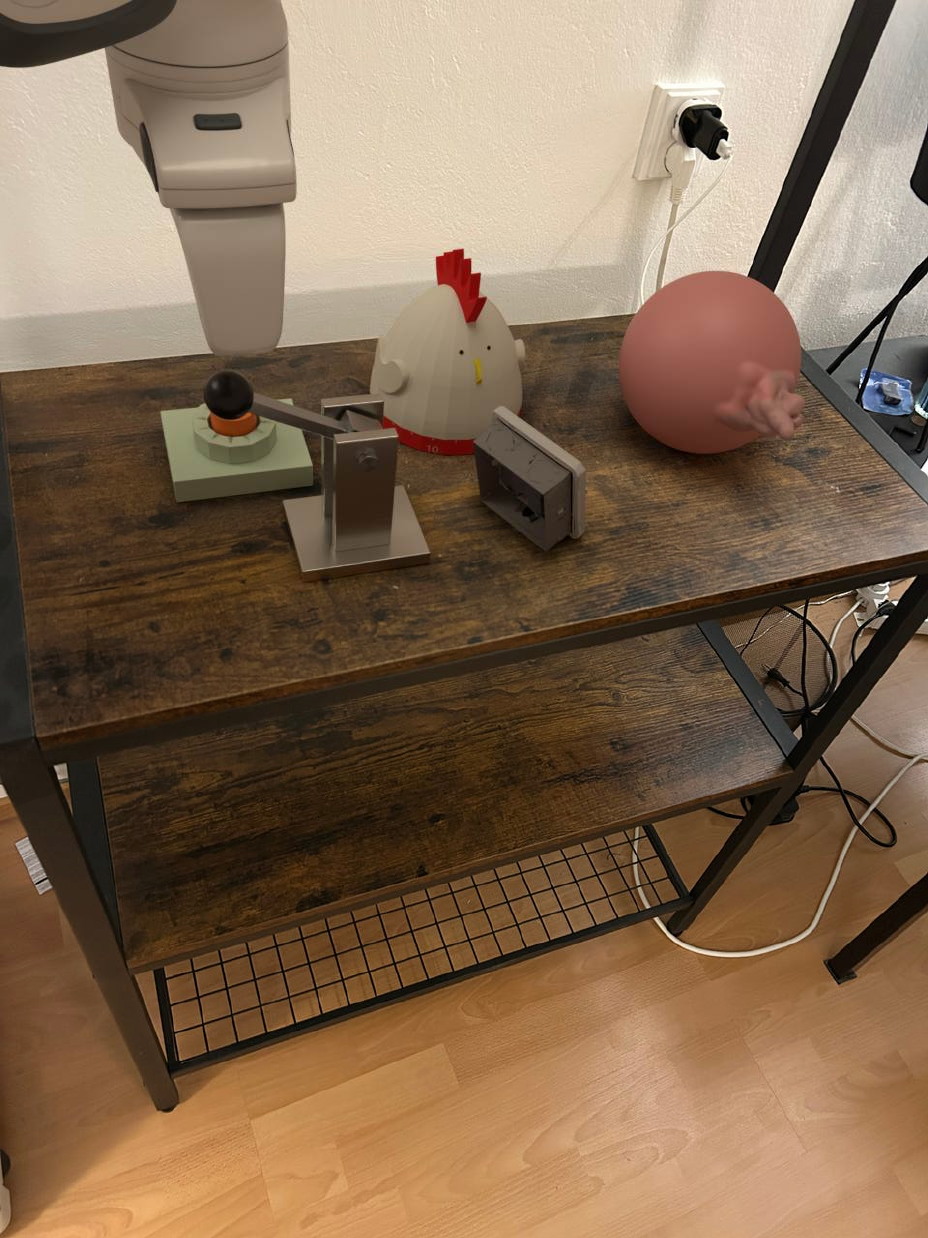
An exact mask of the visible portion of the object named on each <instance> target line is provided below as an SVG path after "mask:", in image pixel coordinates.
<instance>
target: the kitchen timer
mask: <svg viewBox="0 0 928 1238" xmlns="http://www.w3.org/2000/svg"><path fill="white" fill-rule="evenodd" d="M435 272H436V273H435V274H436V282H437V283H436V284H437V285H436V286H433V287H430V288H428V289H426V290H424V291H423V292H422V293H421V294H418V295H417V296H416V297H415V298H413V299H412V300H411V301H410V302H409V303H408V304H406V306H405V307H403V309H402V310H401V311H400V312H399V314H398V315H397V317H396V318H395V320H394V322H393V323H392V324H391V326H390V327H389V329H388V330H387V333H386V334H385V336H384V335H382V334H379V335H378V339H377V343H376V348H375V349H376V350H375V354H374V364H373V367H372V372H371V376H370V383H369V394H377V393H381V395H382V397H383V400H384V414H383V429H388V428H395V429H396V431H397V434H398V436H399V439H398V443H400V444H403V445H405V446H408V447H410V448H412V449H415V450H418V451H420V452H425V453H429V454H436V455H441V456H467V455H471V454H474V447H473V441H474V440H476V439H477V438H478V437H479V436H481V435H482V434H483V433H484V432H485V431H486V429H487V428H488V427H489V426H491V425H492V424H493V423H492V418H491V416H492V412H493V411H494V410H495V409H496V408H498V407H499V406H504V407H505V408H507V409H508V410H509V411H511V412H512V413H513V414H515V415H516V416H518V417H519V418H521V412H522V406H523V382H522V379H523V378H522V372H523V371H525V368H526V348H525V343H524V341H523V340H522V339H521V338H519V339H514V336H513V333H512V332H511V329H510V327H509V326H508V323H507V322H506V320H505V317H503V315H502V313H501V311H500V310H499V309H498V307H497V305H495V304H494V303H493V302H492V301H491V299H490V298H489V297H488V296H486V295H485V294H484V293H483V292H481V291H480V287H481V282H482V281H481V280H482V272H480V271H479V272H473V273H472V257H469V258H468V257H467V258H465V248H457V249H452V251H445V252H443V255H437V256H435Z"/></svg>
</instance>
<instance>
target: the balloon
mask: <svg viewBox="0 0 928 1238" xmlns="http://www.w3.org/2000/svg"><path fill="white" fill-rule="evenodd" d="M618 358H619V359H618V377H619V385H620V389H621V393H622V396H623V399H624V401H625V404H626V406H627V408H628V410H629V412H630V413H631V415H632V416H633V418H634V419H635V421H636V423H638V425H640V427H641V428H642V429H643V430H644V431H645V432H646V433H647V434H648V435H649V436H651V437H652V438H654V440H657V441H658V442H660V443H662V444H664V445H665V446H668V447H670V448H672V449H675V450H677V451H682V452H686V453H692V454H700V455H701V454H702V455H704V454H706V455H708V454H718V453H723V452H727V451H731V450H735V449H737V448H740V447H742V446H745V445H747V444H748V443H751V442H752V441H754V440H755V439H757V438H758V437H760V436H762V437H764V438H767V439H768V438H769V439H770V438H775V437H777V436H779V437H780V439H781V440H783V441H790V440H792V439H793V438H794V436H795V431H796V430H798V429H799V428H800V427H801V426H802V425H803V423H804V415H803V414H802V413H801V411H802V409H804V407H805V404H806V401H805V398H804V397H803V396H802V395H801V394H798V393H795V391H796V389H797V386H798V382H799V378H800V375H801V374H800V373H801V368H802V367H801V366H802V346H801V340H800V335H799V331H798V328H797V325H796V322H795V320H794V318H793V316H792V313H791V312H790V311H789V309H788V308H787V306H786V305H785V303H784V302H783V301H782V300H781V298H780V297H779V296H778V295H777V294H776V293H774V292H773V291H772V290H771V289H770V288H768V287H767V286H766V285H765V284H763V283H761V282H760V281H758V280H756V279H754V278H752V277H749V276H748V275H744V274H741V273H737V272H733V271H727V270H705V271H698V272H693V273H689V274H687V275H684V276H681V277H678V278H677V279H673V281H671V282H669V283H667V284H665V285H664V286H661V288H660V289H658V290H657V291H656V292H654V293H653V294H652V295H651V296H650V297H648V298H647V299H646V301H644V303H643V304H641V306H640V307H639V309H638V310H637V311H636V313H635V314H634V316H633V318H632V319H631V321H630V323H629V324H628V326H627V329H626V331H625V333H624V337H623V339H622V343H621V347H620V351H619V357H618Z"/></svg>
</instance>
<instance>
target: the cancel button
mask: <svg viewBox="0 0 928 1238" xmlns="http://www.w3.org/2000/svg"><path fill="white" fill-rule="evenodd" d="M210 415H211V424H212V428H213V429H214V430H215V432H217V433H218V434H220V435H223V436H227V437H240V436H246V435H248V434H250V433H252V432H253V431H254V430H255V428H256V426H257V415H254V414H251V413H247V414H246V415H245V416H243V417H241V418H239V419H236V420H224V419H221V418H218V417H217V416H215V415H214V414H213V413H212V412H211V411H210Z"/></svg>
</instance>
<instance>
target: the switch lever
mask: <svg viewBox="0 0 928 1238" xmlns="http://www.w3.org/2000/svg"><path fill="white" fill-rule="evenodd" d="M203 400H204V403H206V406H207V407H208V409H209V410H210V411H211V412H212V413H213V414H214V415H215V416H217V417H218V418H221V419H224V420H236V419H239V418H241V417H243V416H245V415H246V414H247V413H251V414H254V415H258V416H261V417H264V418H267V419H270V420H273V421H277V422H280V423H283V424H286V425H289V426H292V427H296V428H299V429H301V430H302V431H305V432H309V433H312V434H314V435H318V436H320V437H321V436H324V437H327V438H330V439H333V442H334V435H335V434H343V433H352V432H361V431H370V430H379V429H382V426H381V424H380V421H378V420H375V419H372V418H369V417H366V416H363V415H360V414H357V413H354V412H351V411H348V410H346V412H345V414H344V415H343V417H342V418H341V420H340V421H339V420H335V419H332V418H329V417H326V416H323V415H321V413H318V412H314V411H311V410H308V409H305V408H302V407H299V406H295V405H294V404H293V405H294V406H293V405H290V404H287V403H284V402H281V401H278V400H279V399H276V398H272V397H268V396H266V395H262V394H260V393H258V392H257V393H256V392H254V388H253V386H252V384H251V382H250V380H249V379H248V378H247V377H246V376H244V375H243V374H242V373H240V372H238V371H236V370H231V369H225V370H220V371H217V372H215V373H213V374H212V375H211V376H210V377H209V378H208V379H207V381H206V382H205V385H204V387H203Z"/></svg>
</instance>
